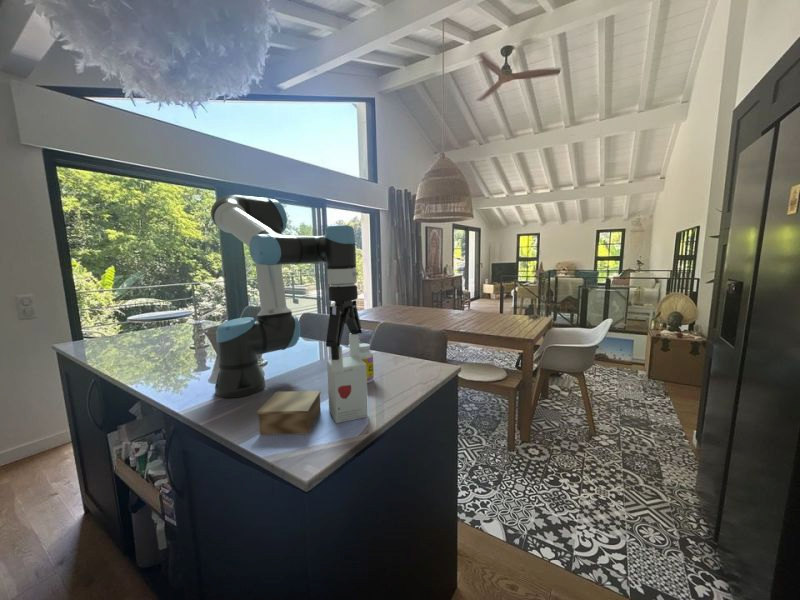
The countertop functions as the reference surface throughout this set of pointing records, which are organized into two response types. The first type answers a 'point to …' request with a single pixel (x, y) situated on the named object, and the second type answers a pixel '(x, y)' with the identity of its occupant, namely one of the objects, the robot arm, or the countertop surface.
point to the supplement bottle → (367, 360)
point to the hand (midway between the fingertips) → (346, 363)
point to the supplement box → (348, 390)
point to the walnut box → (290, 412)
